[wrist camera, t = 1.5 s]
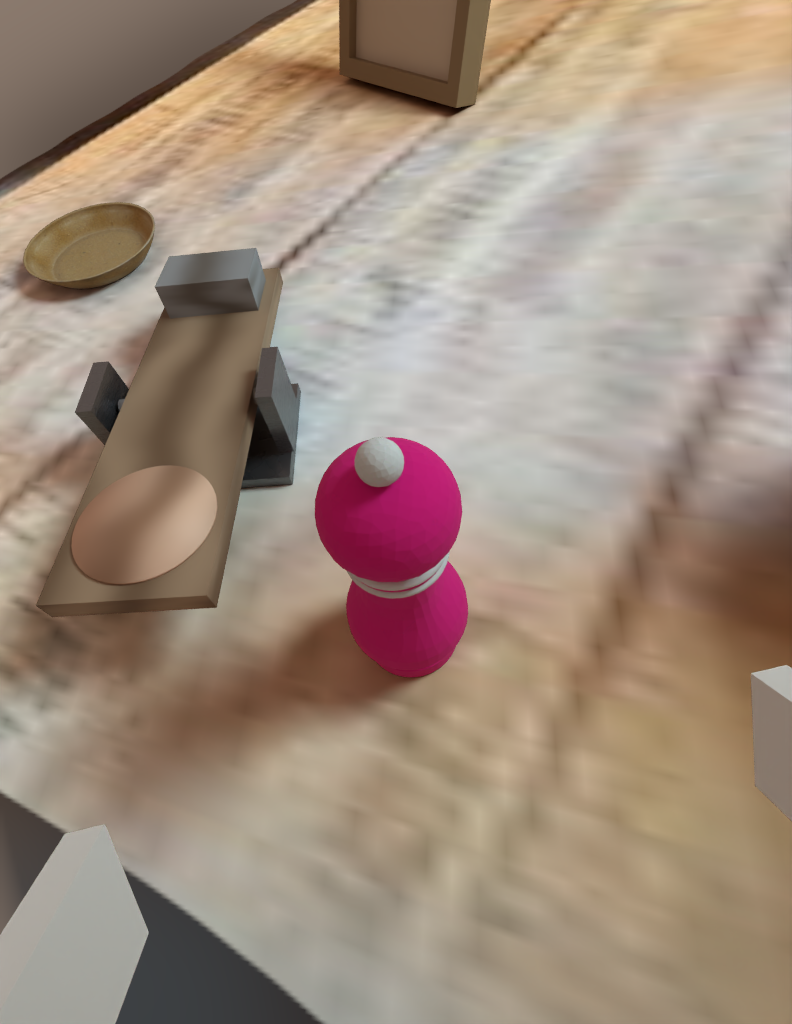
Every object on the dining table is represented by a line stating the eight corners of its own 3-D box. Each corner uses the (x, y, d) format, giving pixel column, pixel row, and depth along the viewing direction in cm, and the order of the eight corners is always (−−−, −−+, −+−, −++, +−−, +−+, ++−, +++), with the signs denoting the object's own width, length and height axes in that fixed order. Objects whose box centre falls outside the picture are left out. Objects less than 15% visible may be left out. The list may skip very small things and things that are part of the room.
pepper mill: (347, 676, 34) (244, 527, 17) (369, 574, 37) (303, 364, 20) (459, 694, 33) (471, 554, 16) (471, 587, 36) (491, 377, 19)
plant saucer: (14, 300, 58) (-4, 279, 56) (73, 222, 66) (60, 201, 63) (135, 304, 56) (122, 282, 54) (183, 223, 63) (173, 201, 61)
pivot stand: (303, 391, 47) (280, 324, 41) (295, 484, 42) (267, 423, 36) (147, 404, 48) (101, 340, 42) (121, 496, 43) (64, 439, 36)
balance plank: (288, 281, 51) (276, 235, 48) (226, 606, 30) (196, 567, 27) (177, 292, 52) (157, 247, 48) (42, 617, 31) (-12, 580, 28)
